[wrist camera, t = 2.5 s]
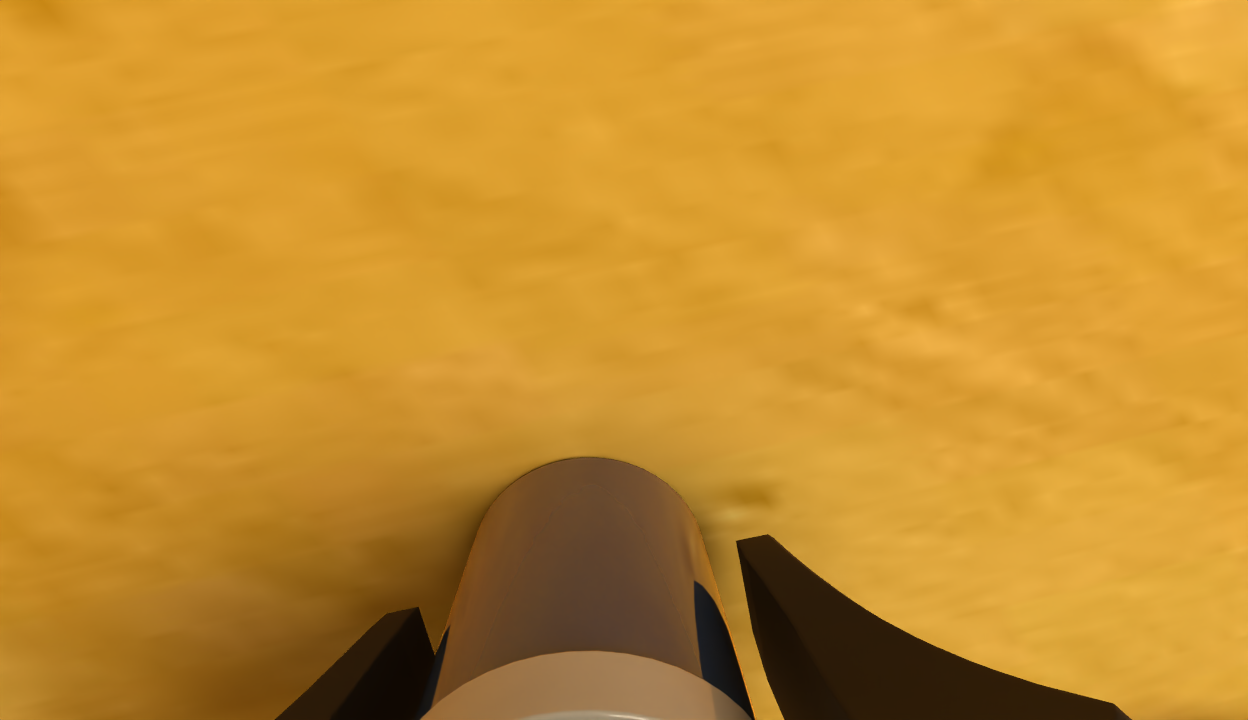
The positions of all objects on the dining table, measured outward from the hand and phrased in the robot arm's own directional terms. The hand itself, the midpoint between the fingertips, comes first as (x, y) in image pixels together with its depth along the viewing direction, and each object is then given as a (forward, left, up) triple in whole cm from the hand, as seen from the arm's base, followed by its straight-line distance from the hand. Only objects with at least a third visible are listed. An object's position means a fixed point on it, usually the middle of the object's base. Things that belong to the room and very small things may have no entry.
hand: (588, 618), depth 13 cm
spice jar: (0, 0, -2) cm, 2 cm away
